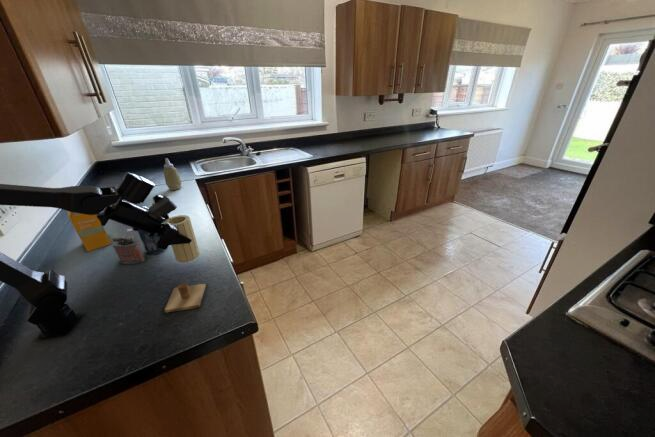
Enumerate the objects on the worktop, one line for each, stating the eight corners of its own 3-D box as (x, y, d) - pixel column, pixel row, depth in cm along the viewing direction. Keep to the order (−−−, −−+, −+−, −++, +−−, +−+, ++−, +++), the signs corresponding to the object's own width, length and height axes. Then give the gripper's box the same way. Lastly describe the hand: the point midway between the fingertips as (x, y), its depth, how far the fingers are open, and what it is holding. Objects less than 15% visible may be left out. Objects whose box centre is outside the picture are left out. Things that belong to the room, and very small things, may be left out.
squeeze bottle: (182, 189, 156) (173, 159, 148) (167, 192, 154) (157, 161, 145) (183, 185, 163) (175, 155, 154) (168, 187, 160) (159, 157, 152)
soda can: (163, 242, 106) (154, 215, 101) (169, 249, 102) (160, 221, 96) (144, 249, 102) (132, 222, 96) (149, 257, 98) (138, 228, 92)
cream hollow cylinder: (173, 263, 82) (160, 226, 77) (180, 251, 89) (168, 216, 83) (196, 261, 83) (185, 224, 78) (202, 249, 89) (192, 214, 84)
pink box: (146, 257, 97) (137, 234, 93) (141, 263, 94) (131, 239, 90) (124, 258, 97) (113, 234, 92) (118, 264, 94) (106, 240, 90)
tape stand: (165, 312, 74) (159, 299, 72) (175, 290, 82) (170, 277, 80) (199, 307, 76) (195, 294, 73) (206, 285, 83) (202, 273, 81)
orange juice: (107, 235, 112) (86, 190, 102) (111, 243, 106) (89, 197, 97) (84, 243, 107) (59, 196, 98) (86, 251, 101) (60, 203, 92)
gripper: (158, 201, 67) (212, 226, 78) (144, 182, 79) (193, 205, 91) (131, 239, 66) (190, 258, 77) (122, 214, 79) (174, 233, 90)
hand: (187, 236), depth 84 cm, fingers closed on cream hollow cylinder, 7 cm apart
